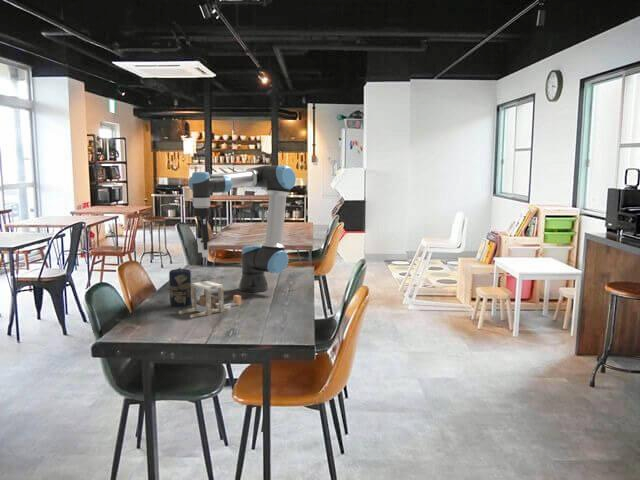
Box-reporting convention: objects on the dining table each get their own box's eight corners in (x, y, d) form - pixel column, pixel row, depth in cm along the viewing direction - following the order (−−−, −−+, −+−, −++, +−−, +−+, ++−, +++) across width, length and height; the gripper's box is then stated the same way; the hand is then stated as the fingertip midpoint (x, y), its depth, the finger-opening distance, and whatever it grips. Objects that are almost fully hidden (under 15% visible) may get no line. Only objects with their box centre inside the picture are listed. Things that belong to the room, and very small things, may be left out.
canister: (170, 309, 255) (168, 270, 252) (169, 304, 264) (168, 266, 262) (192, 308, 257) (190, 269, 255) (190, 303, 266) (189, 265, 264)
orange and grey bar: (234, 302, 263) (234, 294, 263) (244, 305, 258) (243, 296, 258) (196, 310, 248) (196, 301, 248) (205, 313, 244) (205, 304, 243)
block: (208, 306, 252) (208, 294, 251) (215, 308, 248) (215, 295, 248) (200, 308, 248) (199, 295, 248) (206, 310, 245) (206, 297, 244)
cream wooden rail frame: (226, 305, 263) (225, 277, 262) (242, 309, 255) (242, 281, 253) (177, 315, 245) (176, 285, 243) (193, 320, 236) (192, 290, 235)
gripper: (189, 205, 261) (191, 251, 264) (196, 209, 238) (198, 259, 241) (206, 204, 264) (207, 250, 266) (214, 209, 240) (216, 258, 243)
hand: (203, 254), depth 254 cm, fingers open, 13 cm apart
